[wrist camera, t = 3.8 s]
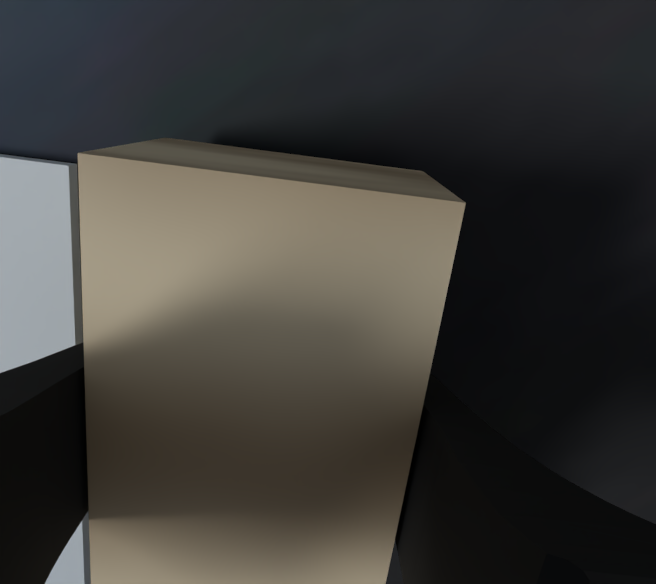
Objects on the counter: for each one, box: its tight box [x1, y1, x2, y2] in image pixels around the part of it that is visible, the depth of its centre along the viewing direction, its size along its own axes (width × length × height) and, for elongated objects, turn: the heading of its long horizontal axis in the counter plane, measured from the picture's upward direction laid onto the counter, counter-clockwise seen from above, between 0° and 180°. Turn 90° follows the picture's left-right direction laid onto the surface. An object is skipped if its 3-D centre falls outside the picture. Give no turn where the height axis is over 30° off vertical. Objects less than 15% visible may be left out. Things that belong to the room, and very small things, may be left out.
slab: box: [78, 138, 466, 584], centre depth 11 cm, size 10×6×4 cm, turn 173°
